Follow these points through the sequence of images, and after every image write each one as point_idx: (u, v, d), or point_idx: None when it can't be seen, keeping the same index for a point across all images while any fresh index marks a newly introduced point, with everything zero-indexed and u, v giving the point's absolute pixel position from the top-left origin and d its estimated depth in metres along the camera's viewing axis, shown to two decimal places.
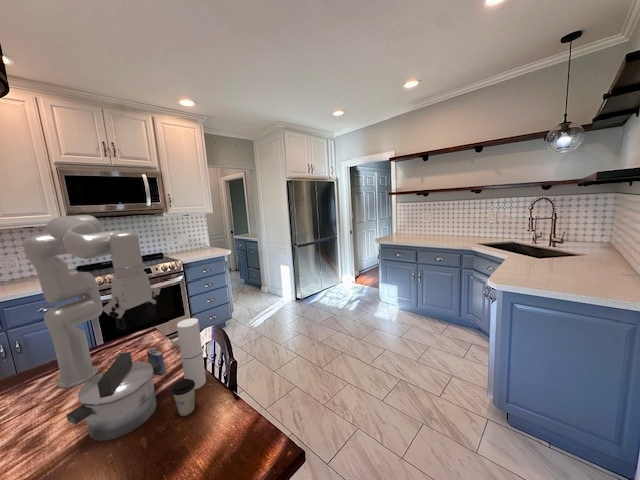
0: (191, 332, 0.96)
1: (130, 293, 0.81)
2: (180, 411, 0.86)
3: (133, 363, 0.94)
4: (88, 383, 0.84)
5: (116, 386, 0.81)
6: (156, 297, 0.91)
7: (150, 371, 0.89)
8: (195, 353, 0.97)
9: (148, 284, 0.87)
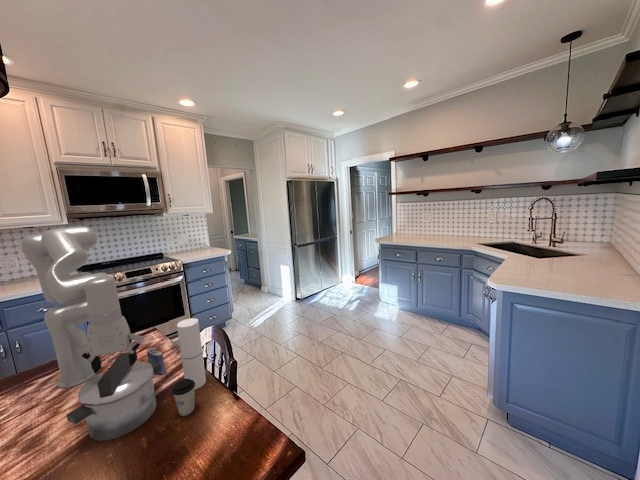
0: (191, 332, 0.96)
1: None
2: (180, 411, 0.86)
3: None
4: (88, 383, 0.84)
5: (116, 386, 0.81)
6: None
7: (150, 371, 0.89)
8: (195, 353, 0.97)
9: None
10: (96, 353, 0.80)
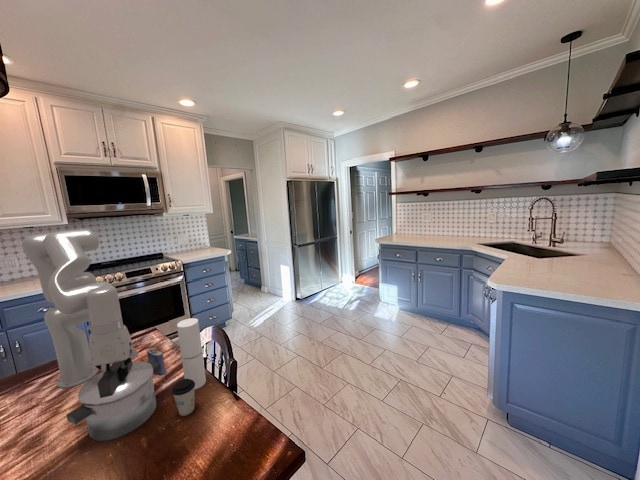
0: (191, 332, 0.96)
1: None
2: (180, 411, 0.86)
3: (133, 363, 0.94)
4: (88, 383, 0.84)
5: (116, 386, 0.81)
6: None
7: (150, 371, 0.89)
8: (195, 353, 0.97)
9: None
10: (98, 362, 0.81)
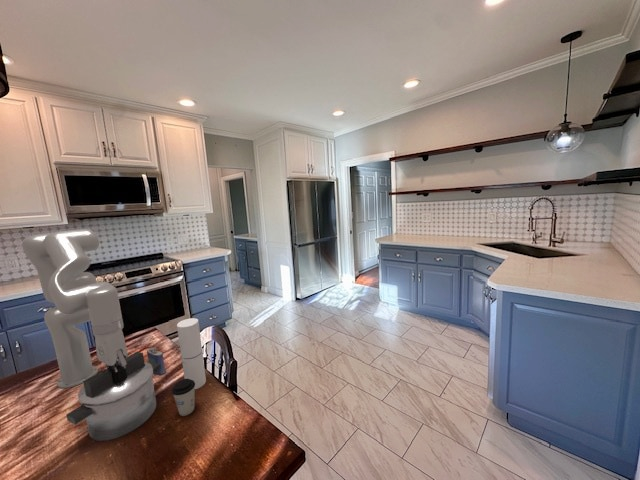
0: (191, 332, 0.96)
1: None
2: (180, 411, 0.86)
3: (146, 365, 0.92)
4: None
5: (103, 388, 0.80)
6: None
7: (139, 384, 0.83)
8: (195, 353, 0.97)
9: None
10: (99, 357, 0.83)
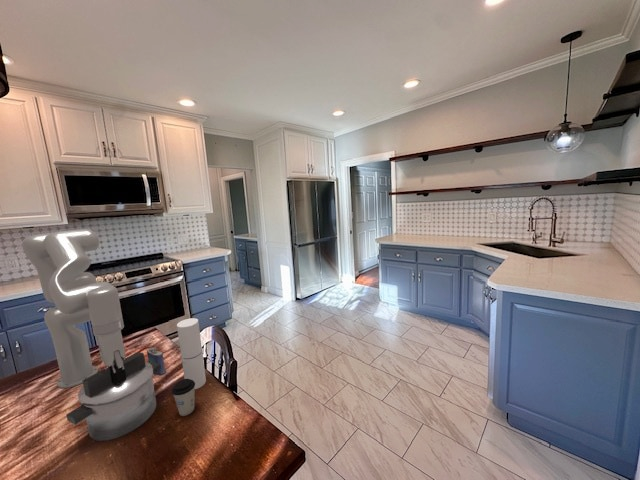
0: (191, 332, 0.96)
1: None
2: (180, 411, 0.86)
3: (147, 365, 0.92)
4: None
5: (102, 388, 0.80)
6: None
7: (137, 385, 0.82)
8: (195, 353, 0.97)
9: None
10: (100, 356, 0.84)
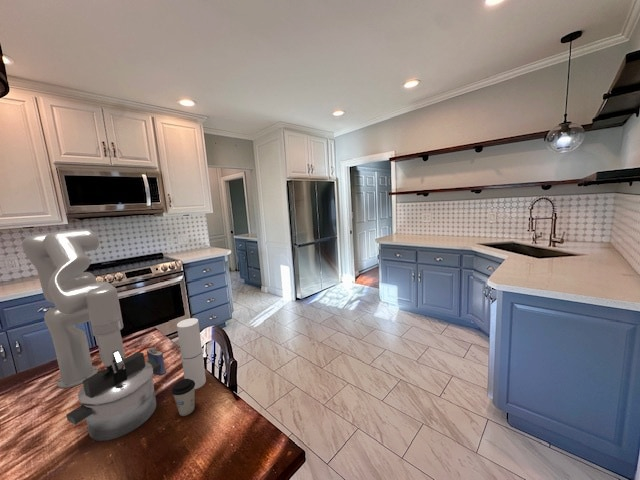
0: (191, 332, 0.96)
1: None
2: (180, 411, 0.86)
3: (146, 365, 0.92)
4: None
5: (102, 388, 0.80)
6: None
7: (137, 385, 0.82)
8: (195, 353, 0.97)
9: None
10: (100, 356, 0.84)
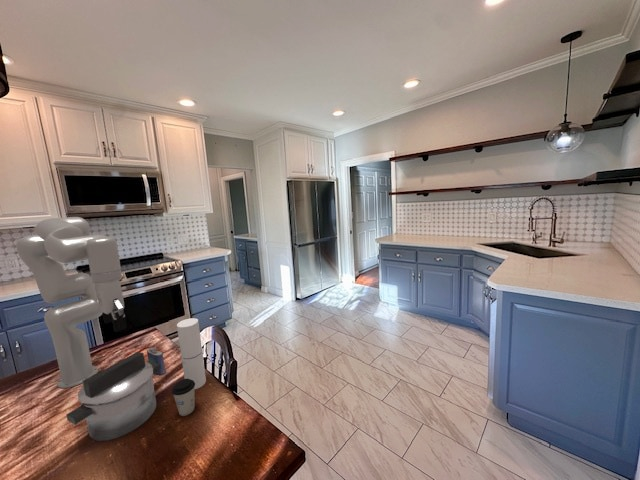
0: (191, 332, 0.96)
1: None
2: (180, 411, 0.86)
3: (146, 365, 0.92)
4: None
5: (102, 388, 0.80)
6: None
7: (137, 385, 0.82)
8: (195, 353, 0.97)
9: None
10: (98, 306, 0.85)
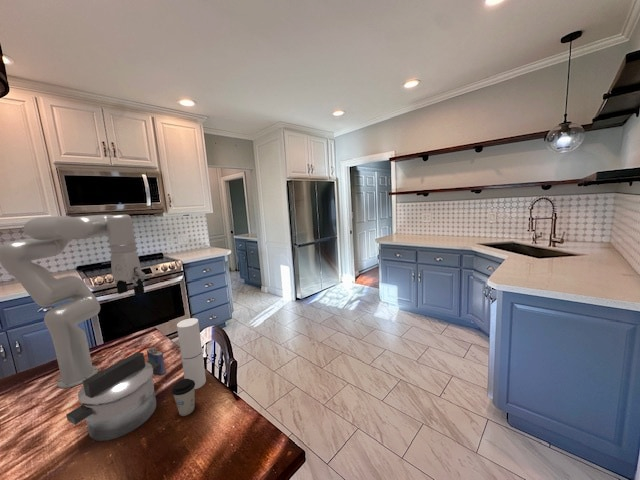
0: (191, 332, 0.96)
1: None
2: (180, 411, 0.86)
3: (146, 365, 0.92)
4: None
5: (102, 388, 0.80)
6: None
7: (137, 385, 0.82)
8: (195, 353, 0.97)
9: None
10: (115, 277, 0.96)
